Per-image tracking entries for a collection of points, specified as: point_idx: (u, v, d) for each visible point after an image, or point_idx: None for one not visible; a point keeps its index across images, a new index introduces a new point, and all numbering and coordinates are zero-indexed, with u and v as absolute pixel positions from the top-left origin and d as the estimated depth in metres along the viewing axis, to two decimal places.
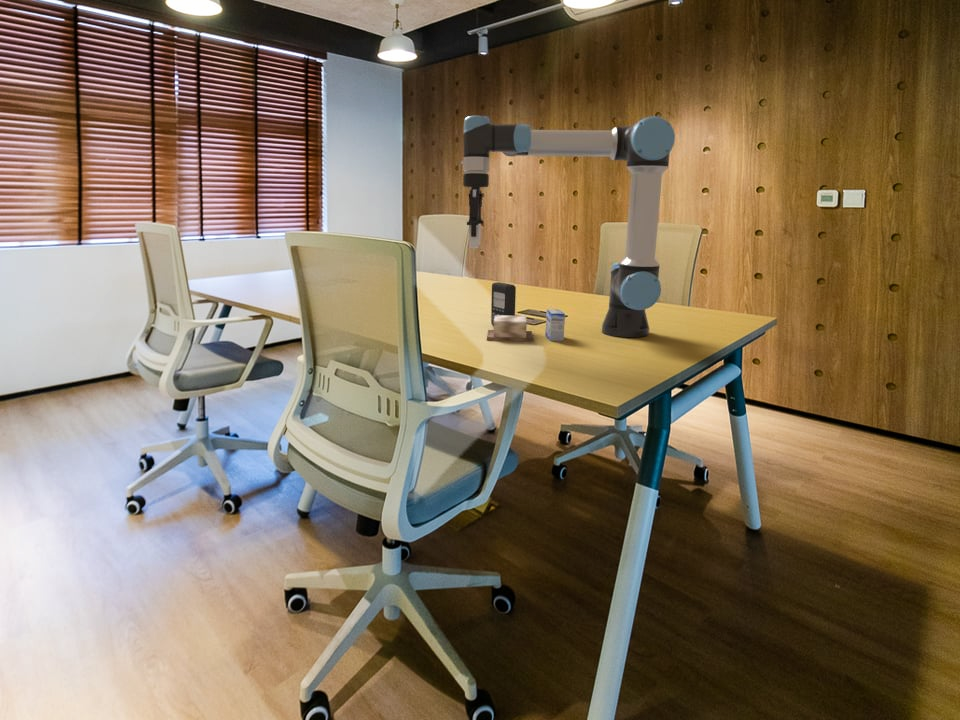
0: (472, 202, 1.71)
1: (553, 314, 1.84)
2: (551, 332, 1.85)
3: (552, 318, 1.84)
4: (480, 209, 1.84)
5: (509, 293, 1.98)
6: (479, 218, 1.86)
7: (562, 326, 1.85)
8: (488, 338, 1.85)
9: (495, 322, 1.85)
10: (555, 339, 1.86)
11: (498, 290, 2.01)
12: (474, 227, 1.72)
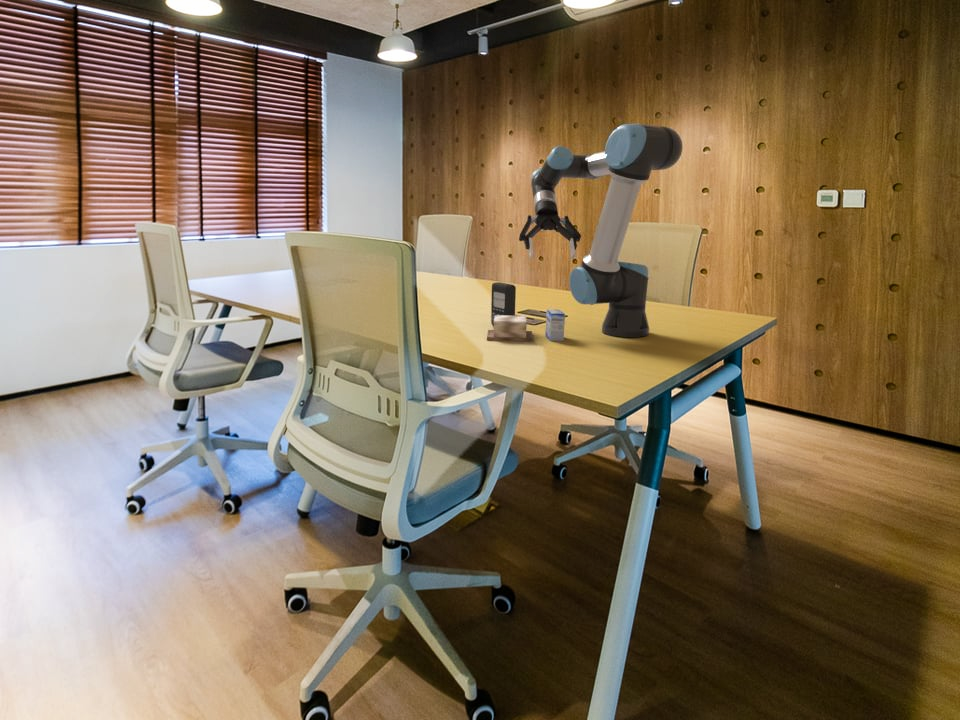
0: None
1: (553, 314, 1.84)
2: (551, 332, 1.85)
3: (552, 318, 1.84)
4: (565, 228, 1.99)
5: (509, 293, 1.98)
6: (568, 235, 1.98)
7: (562, 326, 1.85)
8: (488, 338, 1.85)
9: (495, 322, 1.85)
10: (555, 339, 1.86)
11: (498, 290, 2.01)
12: (525, 241, 1.96)
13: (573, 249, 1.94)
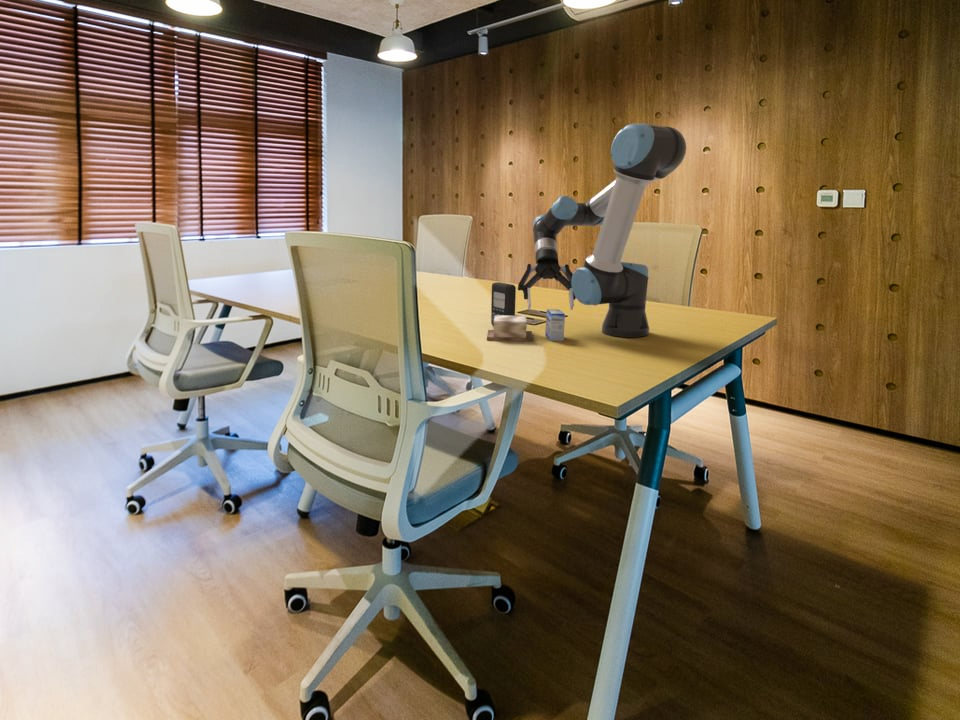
0: None
1: (553, 314, 1.84)
2: (551, 332, 1.85)
3: (552, 318, 1.84)
4: None
5: (509, 293, 1.98)
6: (568, 284, 1.95)
7: (562, 326, 1.85)
8: (488, 338, 1.85)
9: (495, 322, 1.85)
10: (555, 339, 1.86)
11: (498, 290, 2.01)
12: (524, 291, 1.94)
13: (572, 300, 1.92)
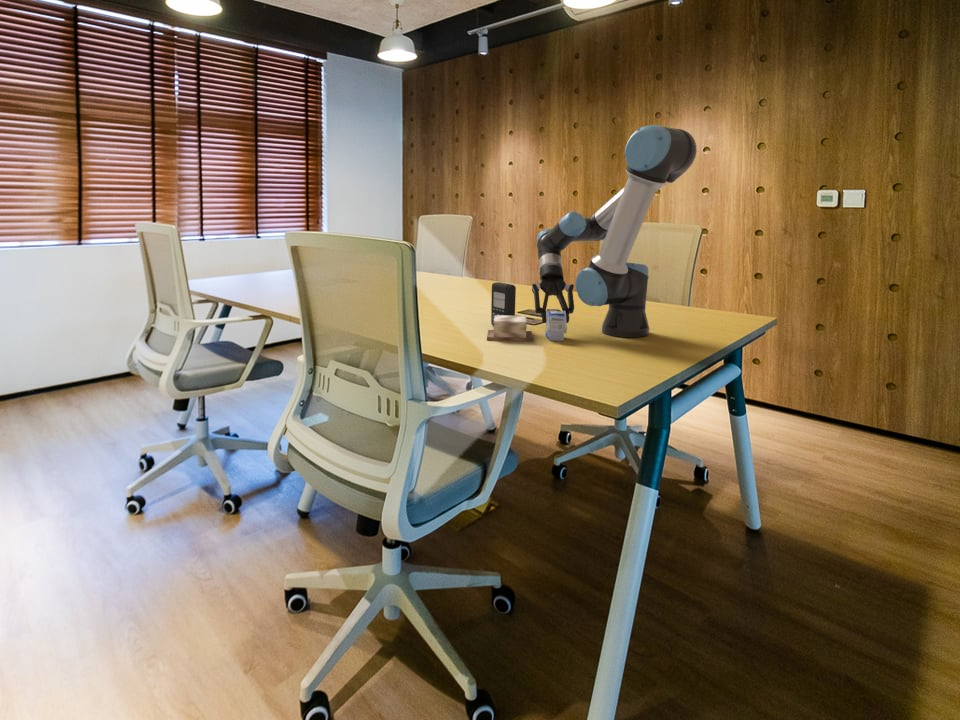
0: (534, 296, 1.92)
1: (553, 314, 1.84)
2: (551, 332, 1.85)
3: (552, 318, 1.84)
4: (563, 297, 1.90)
5: (509, 293, 1.98)
6: (563, 305, 1.89)
7: (562, 326, 1.85)
8: (488, 338, 1.85)
9: (495, 322, 1.85)
10: (555, 339, 1.86)
11: (498, 290, 2.01)
12: (542, 314, 1.88)
13: (565, 323, 1.85)
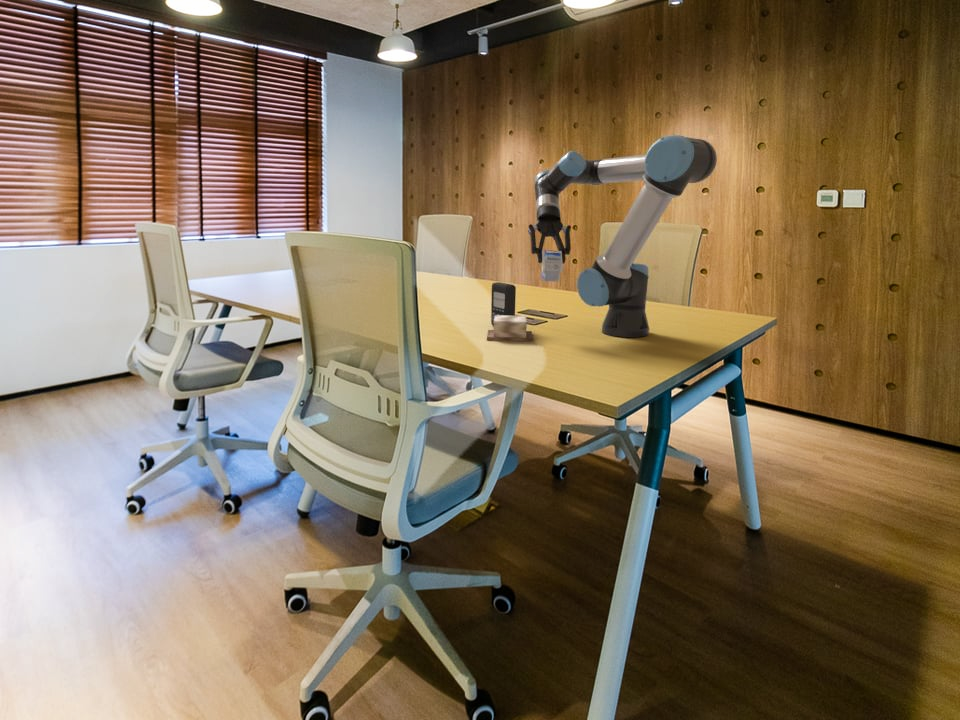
0: (530, 237, 1.88)
1: (548, 253, 1.80)
2: (546, 272, 1.82)
3: (547, 257, 1.81)
4: (560, 238, 1.87)
5: (509, 293, 1.98)
6: (559, 246, 1.85)
7: (558, 266, 1.81)
8: (488, 338, 1.85)
9: (495, 322, 1.85)
10: (550, 279, 1.82)
11: (498, 290, 2.01)
12: (538, 254, 1.84)
13: (561, 263, 1.82)
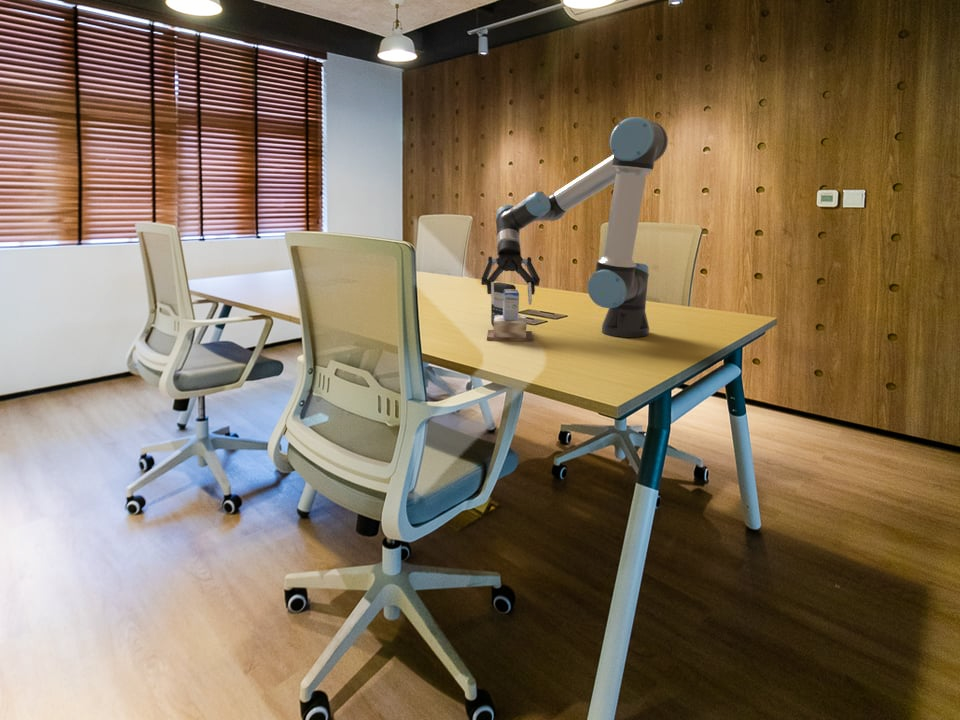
0: None
1: (507, 293, 1.83)
2: (505, 311, 1.85)
3: (506, 297, 1.84)
4: None
5: None
6: (527, 278, 1.89)
7: (516, 305, 1.84)
8: (488, 338, 1.85)
9: (495, 322, 1.85)
10: (509, 318, 1.85)
11: (498, 290, 2.01)
12: (487, 285, 1.88)
13: (530, 294, 1.85)
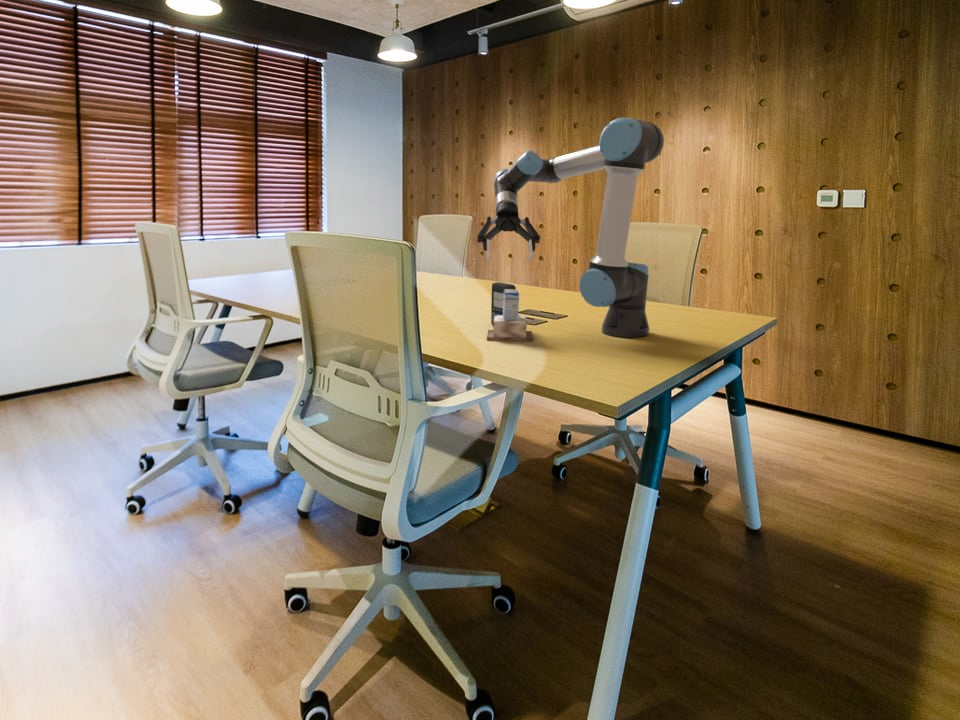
0: None
1: (507, 293, 1.83)
2: (505, 311, 1.85)
3: (506, 297, 1.84)
4: (524, 229, 1.96)
5: None
6: (527, 236, 1.95)
7: (516, 305, 1.84)
8: (488, 338, 1.85)
9: (495, 322, 1.85)
10: (509, 318, 1.85)
11: (498, 290, 2.01)
12: (483, 242, 1.94)
13: (531, 251, 1.92)
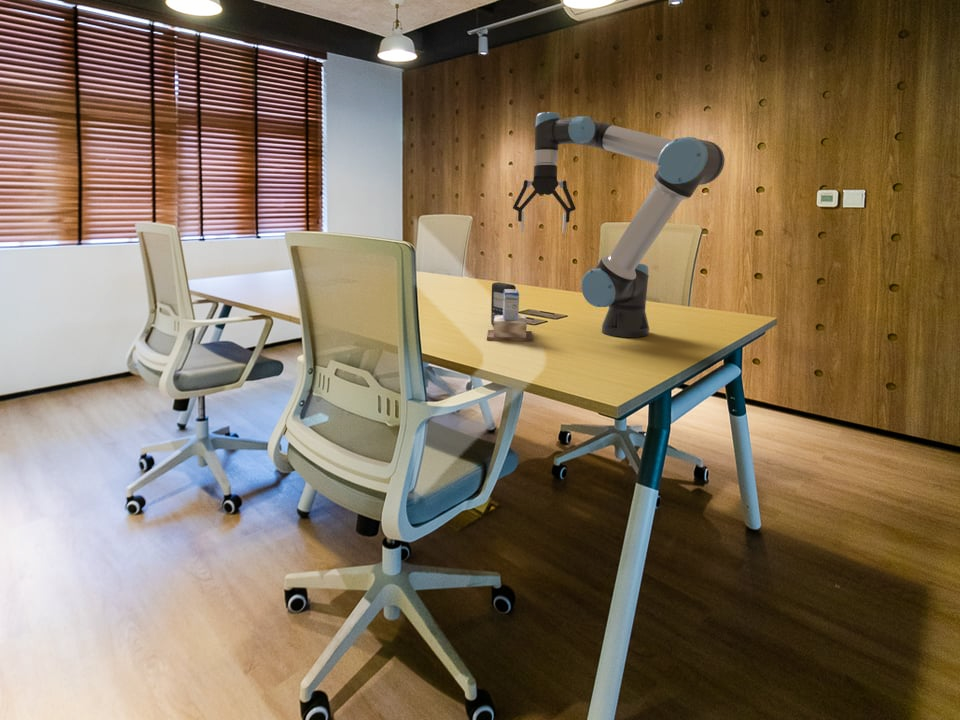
0: None
1: (507, 293, 1.83)
2: (505, 311, 1.85)
3: (506, 297, 1.84)
4: (560, 198, 1.95)
5: None
6: (563, 207, 1.95)
7: (516, 305, 1.84)
8: (488, 338, 1.85)
9: (495, 322, 1.85)
10: (509, 318, 1.85)
11: (498, 290, 2.01)
12: None
13: (564, 227, 1.97)
